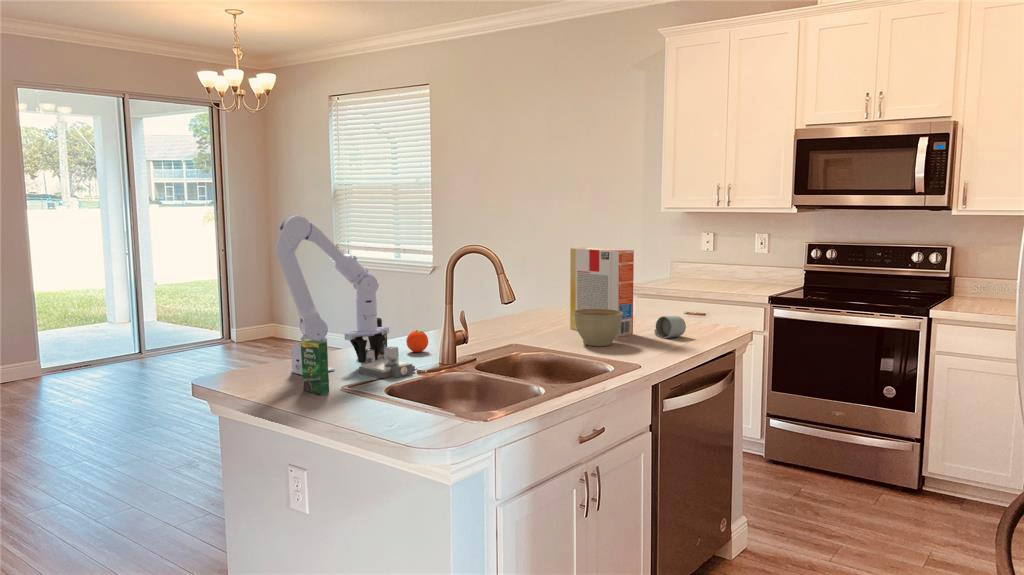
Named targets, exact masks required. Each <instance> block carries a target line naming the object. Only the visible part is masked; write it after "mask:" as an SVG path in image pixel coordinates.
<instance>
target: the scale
mask: <svg viewBox="0 0 1024 575" xmlns="http://www.w3.org/2000/svg"><path fill="white" fill-rule="evenodd" d="M413 371H416V366H415V365H413V363H410V362H405V361H401V360H399V365H397V366H393V367H385V366H384V359H383V360H379V361H378V360H377V361H375V362H373V363H368V364H363V365H361V364H360V366H359V367H358V373H359V374H364V375H366V376H367V375H368V376H371V377H376V378H378V379H379V378H380V379H383V378H384V379H388V377H389V378H394V379H397V378H401V377H405V376H410V375H413V373H414V372H413Z"/></svg>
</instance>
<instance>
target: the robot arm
mask: <svg viewBox="0 0 1024 575" xmlns="http://www.w3.org/2000/svg"><path fill="white" fill-rule="evenodd" d="M304 240H305V241H308V242H311V243H314V244H315V245H316V246H317V247H318V248H319V249H321V251H323V253H325V255H327V256H329V258H331V259H332V261H334V263H335V265H334V266H335V270H337V271H338V272H339V273H340V275H342V276H343V277H344V278H345V279H346V280H347V281H348V282H349V283H350V284H352V286H353V288H354V289H355V290H356V300H355V301H356V302H355V303H356V329H355V330H352V331H348V332H344V340H346V341H350V344H351V345H352V347H353V350H354V351H355V353H356V357H357V361H358V363H360V364H361V363H365V349H366V344H367V340H364V339H363V337H368V339H369V342H370V348H375V361H378V359H379V358H378V355H379V351H380V348H381V345H382V343H383V341H384V340H385V336H384V335H382V334H387V335H388V334H390V326H386V325H385V326H382V327H377V317H378V313H377V308H378V307H377V305H378V304H377V291H378V290H379V283H378V279H377V278H376V277H375V276H374V275H372V274H370V273H368V272H369V271H370V270H369V269H368V268H366V267H364V266H363V265H362V264H361V263H360V262H358V261H357V260H358V257H356V256H355V255H352V254H351V253H343V252H342V251H341V250H340V249H339V247H338V246H336V245H335V243H334V242H332V240H330V238H328V236H327V235H326V234H325V233H324V232H323V231H322V230H321V229H320V228H318V227H317V226H316V225H315V224H314V223H312V222H310V221H309V220H308V219H307V218H306V217H304V216H302V215H289V216H287V217H286V218H284V219H283V221H282V222H281V224H280V225H279V227H278V234H277V239H276V243H275V247H274V254H275V255H276V258H277V261H278V263H279V265H280V269H281V272H282V273H283V276H284V279H285V282H286V284H287V286H288V288H289V291H290V295H291V297H292V299H293V301H294V304H295V307H296V310H297V314H298V318H299V330H300V332H301V333H302V334H303V335H302V336H301V337H300V341H302V340H307V339H310V340H316V341H324V342H327V343H328V337H327V335H328V332H329V331H328V330H329V328H328V325H327V322H326V321H324V320H323V319H322V318H321V317H320V316H321V315H320V313H319V311H318V310H317V309H318V308H316V306H315V304H314V300H313V298H312V295H311V293H310V290H309V288H308V285H307V282H306V280H305V277H304V274H303V272H302V269H301V267H300V263H299V261H298V259H297V256H296V250H297V249H298V247H299V245H300V243H301V242H303V241H304ZM300 341H299V342H297V343H294V344H293V345H292V347H291V370H290V373H294V374H297V375H301V376H303V375H302V358H301V343H300ZM328 353H329V352H328V347H327V355H328ZM333 371H336V370H335V367H334V368H333V367H330V366H328V372H333Z"/></svg>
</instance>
